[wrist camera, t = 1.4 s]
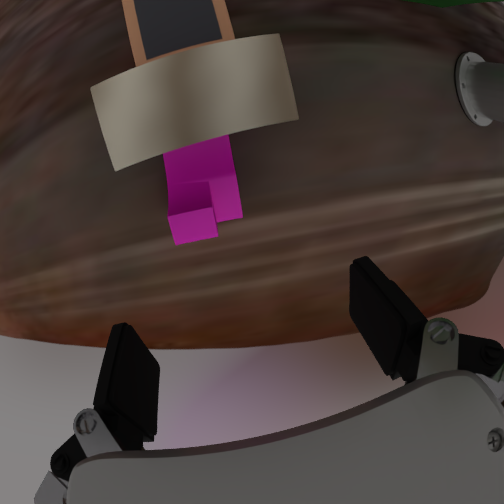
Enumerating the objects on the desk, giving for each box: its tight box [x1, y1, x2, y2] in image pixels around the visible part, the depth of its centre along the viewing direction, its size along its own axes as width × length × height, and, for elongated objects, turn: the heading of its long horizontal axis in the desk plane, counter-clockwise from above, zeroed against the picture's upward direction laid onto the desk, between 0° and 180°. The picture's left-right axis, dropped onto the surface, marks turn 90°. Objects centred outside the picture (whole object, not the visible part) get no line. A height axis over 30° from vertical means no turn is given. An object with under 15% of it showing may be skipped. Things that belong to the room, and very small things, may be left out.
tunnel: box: [90, 33, 299, 171], centre depth 18 cm, size 12×6×11 cm, turn 102°
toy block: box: [163, 134, 243, 245], centre depth 22 cm, size 15×6×8 cm, turn 7°
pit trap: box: [122, 0, 235, 67], centre depth 18 cm, size 10×11×1 cm
